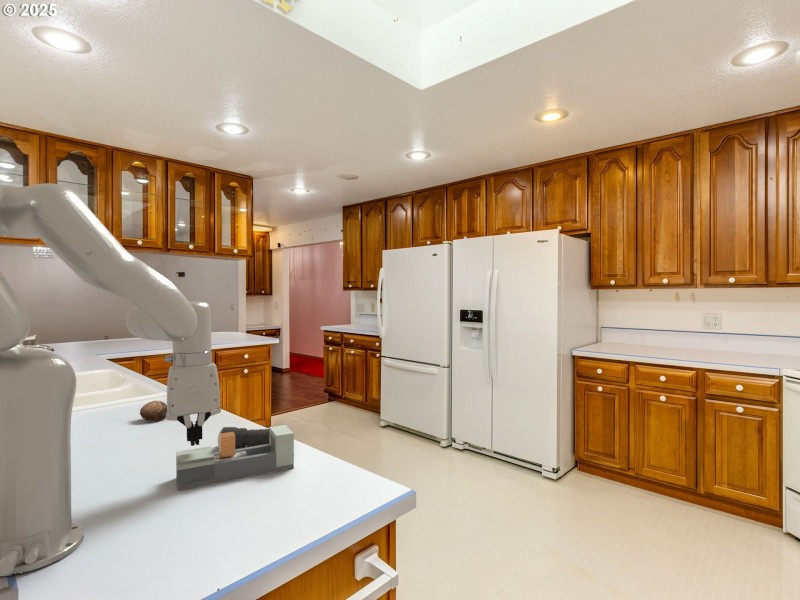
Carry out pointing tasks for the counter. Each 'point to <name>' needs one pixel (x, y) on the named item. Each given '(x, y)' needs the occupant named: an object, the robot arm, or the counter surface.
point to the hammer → (228, 447)
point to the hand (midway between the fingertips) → (194, 443)
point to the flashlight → (247, 436)
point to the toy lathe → (236, 461)
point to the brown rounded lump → (154, 411)
